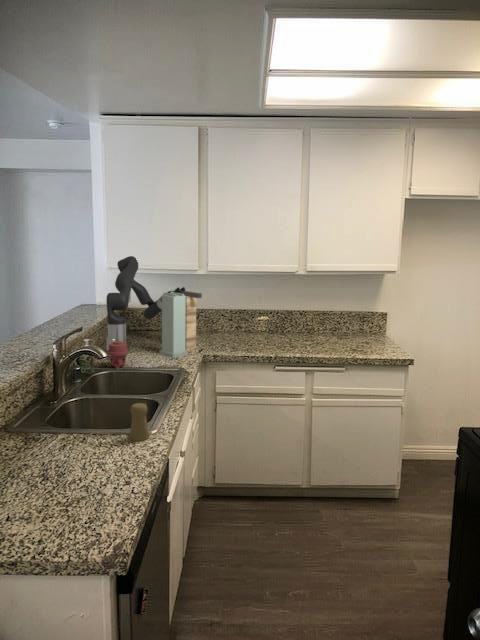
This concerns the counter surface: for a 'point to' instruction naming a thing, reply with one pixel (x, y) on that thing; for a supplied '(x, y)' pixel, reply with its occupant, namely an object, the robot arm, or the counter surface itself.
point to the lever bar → (191, 294)
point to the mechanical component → (118, 353)
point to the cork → (139, 423)
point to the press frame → (173, 325)
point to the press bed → (190, 323)
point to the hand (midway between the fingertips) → (181, 288)
